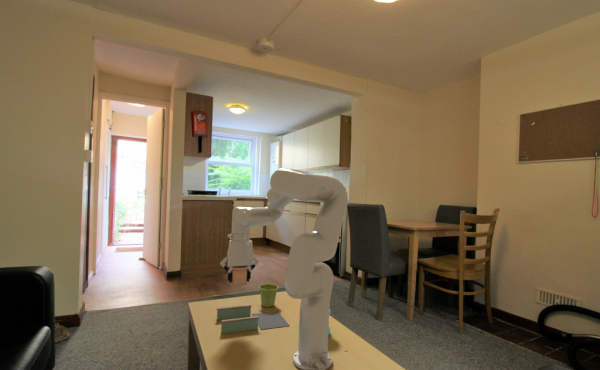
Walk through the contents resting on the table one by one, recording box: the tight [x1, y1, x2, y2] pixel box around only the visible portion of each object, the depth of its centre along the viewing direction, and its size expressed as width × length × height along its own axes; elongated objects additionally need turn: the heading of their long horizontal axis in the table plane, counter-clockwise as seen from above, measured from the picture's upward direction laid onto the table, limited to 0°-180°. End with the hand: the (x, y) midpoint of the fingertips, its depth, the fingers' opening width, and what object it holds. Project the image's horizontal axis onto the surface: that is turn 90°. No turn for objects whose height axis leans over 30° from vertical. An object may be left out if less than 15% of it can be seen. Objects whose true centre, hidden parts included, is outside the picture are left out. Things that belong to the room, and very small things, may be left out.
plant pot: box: [258, 283, 279, 308], centre depth 149 cm, size 9×9×9 cm
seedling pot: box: [230, 266, 248, 287], centre depth 127 cm, size 7×7×7 cm
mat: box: [251, 310, 290, 331], centre depth 131 cm, size 16×12×1 cm
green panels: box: [216, 304, 259, 334], centre depth 126 cm, size 14×14×5 cm
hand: (238, 281), depth 127 cm, fingers closed on seedling pot, 6 cm apart
